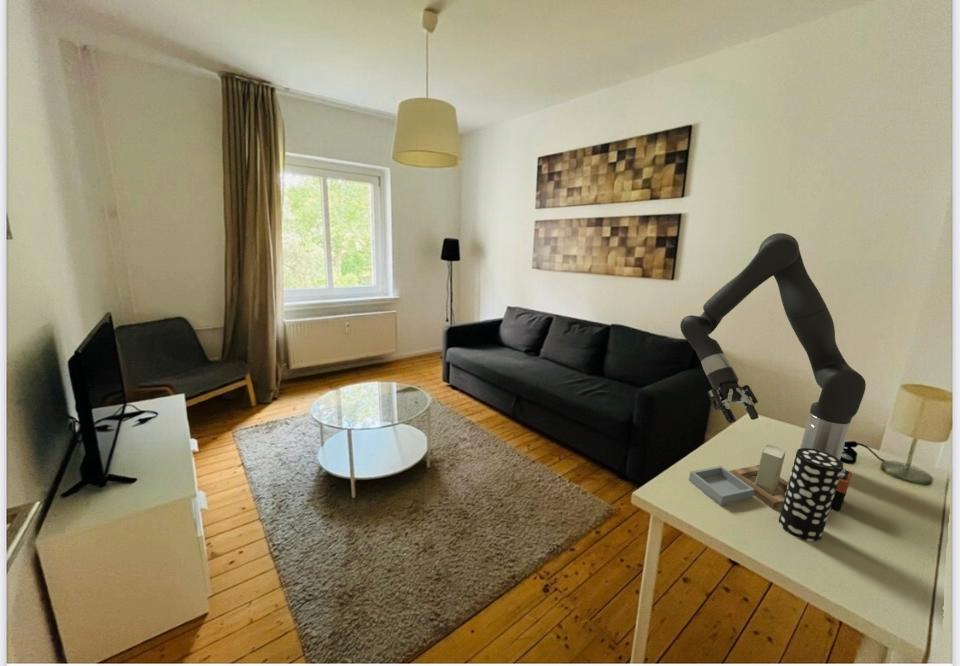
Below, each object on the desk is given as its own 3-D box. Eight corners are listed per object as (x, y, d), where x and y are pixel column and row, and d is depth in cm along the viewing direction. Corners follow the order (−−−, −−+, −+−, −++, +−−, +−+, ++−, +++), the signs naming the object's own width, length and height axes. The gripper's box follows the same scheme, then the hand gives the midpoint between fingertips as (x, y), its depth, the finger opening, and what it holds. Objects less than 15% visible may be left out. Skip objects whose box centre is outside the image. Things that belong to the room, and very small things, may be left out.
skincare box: (771, 497, 106) (781, 459, 103) (752, 489, 110) (761, 451, 106) (777, 487, 110) (787, 450, 107) (759, 480, 114) (767, 443, 110)
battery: (818, 503, 104) (827, 471, 101) (822, 492, 108) (832, 461, 106) (839, 512, 101) (850, 479, 98) (843, 500, 105) (853, 469, 103)
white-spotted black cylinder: (771, 514, 100) (789, 446, 95) (807, 518, 99) (827, 449, 93) (790, 538, 92) (810, 466, 87) (829, 543, 91) (853, 470, 85)
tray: (719, 474, 116) (720, 465, 115) (752, 498, 106) (754, 489, 105) (688, 480, 113) (690, 471, 112) (720, 506, 103) (722, 496, 102)
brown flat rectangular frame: (758, 470, 118) (760, 464, 117) (806, 501, 105) (808, 494, 104) (727, 476, 115) (728, 470, 114) (772, 509, 102) (774, 502, 101)
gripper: (708, 368, 118) (734, 419, 110) (745, 364, 121) (773, 414, 114) (692, 377, 124) (715, 427, 116) (728, 373, 127) (753, 421, 120)
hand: (744, 420), depth 115 cm, fingers open, 8 cm apart
